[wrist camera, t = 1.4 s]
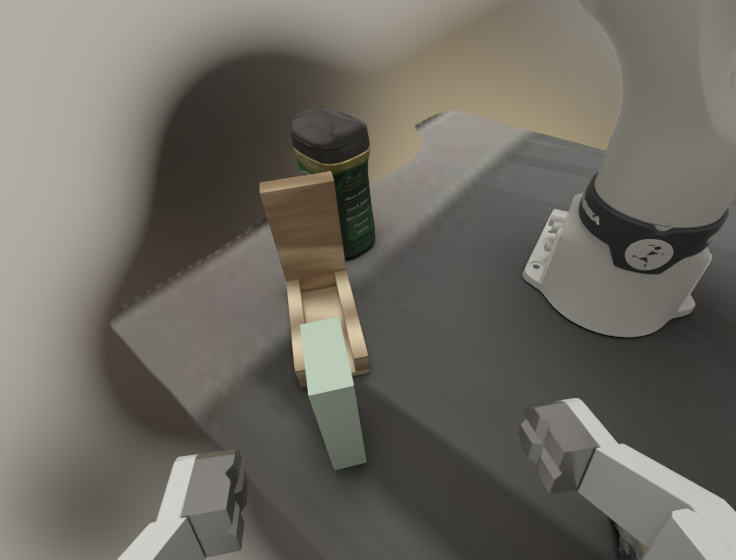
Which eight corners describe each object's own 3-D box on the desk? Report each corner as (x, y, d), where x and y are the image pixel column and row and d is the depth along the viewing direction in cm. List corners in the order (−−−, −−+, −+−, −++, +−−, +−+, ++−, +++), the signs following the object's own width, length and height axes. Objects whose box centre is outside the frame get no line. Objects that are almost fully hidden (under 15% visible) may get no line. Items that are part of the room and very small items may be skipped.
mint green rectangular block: (324, 409, 39) (299, 324, 29) (354, 402, 40) (339, 316, 30) (333, 470, 35) (307, 395, 25) (367, 462, 35) (354, 385, 25)
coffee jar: (384, 241, 57) (380, 115, 44) (343, 268, 54) (324, 139, 40) (343, 214, 62) (329, 94, 49) (303, 236, 59) (275, 114, 46)
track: (290, 288, 51) (259, 182, 40) (345, 277, 52) (331, 171, 41) (301, 388, 41) (263, 284, 30) (369, 372, 42) (358, 265, 30)
